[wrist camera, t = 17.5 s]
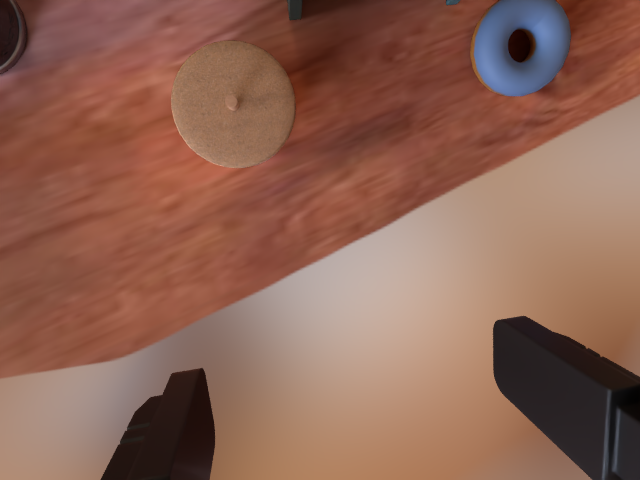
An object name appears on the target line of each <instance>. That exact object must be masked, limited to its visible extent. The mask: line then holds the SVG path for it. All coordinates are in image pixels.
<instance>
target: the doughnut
mask: <svg viewBox="0 0 640 480" xmlns="http://www.w3.org/2000/svg"><path fill="white" fill-rule="evenodd" d="M515 30H522V31H524V32H525V33H526V34H527V36H528V38H529V41H530V52H529V54H528V56H527V58H526V59H525V60H524V61H523V62H520V63H519V62H516V61H514V60H513V59H512V58H511V56H510V54H509V51H508V40H509V38H510V35H511V34H512V33H513V32H514V31H515ZM570 40H571V32H570V25H569V20H568V18H567V16H566V14H565V12H564V10H563V8H562V7H561V6H560V5H559V4H558V3H557V2H556V1H555V0H499V1H497V2H496V3H495V4H494V5H492V6H491V7H490V8H488V10H487V11H486V12H485V14H484V15H483V16H482V18H481V19H480V20H479V22H478V23H477V25H476V28H475V31H474V33H473V36H472V39H471V51H470V56H471V61H472V66H473V70H474V72H475V74H476V76H477V77H478V79H479V81H480V82H481V83H482V84H483V85H484V86H485V87H486V88H488V89H489V90H490V91H492V92H494V93H497V94H500V95H502V96H524V95H527V94H530V93H533V92H536V91H538V90H540V89H541V88H542V87H544V86H545V85H547V84H548V83H549V82H551V81H552V80H553V78H554V77H555V76H556V74H557V73H558V72H559V71H560V69H561V68H562V66H563V64H564V62H565V59H566V57H567V55H568V52H569V47H570Z"/></svg>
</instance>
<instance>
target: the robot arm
mask: <svg viewBox="0 0 640 480" xmlns="http://www.w3.org/2000/svg"><path fill="white" fill-rule="evenodd" d="M26 35H27V34H26V24H25V20H24V16H23V14H22V11H21V9H20V7H19V6H18V4H17V2H16V1H15V0H0V74H2V73H4V72H6V71H8V70H9V69H10V68H12V67H13V66H14V65H15V64H16V62H17V61H18V60H19V58H20V57H21V55H22V53H23V50H24V48H25V44H26ZM493 367H494V369H493V370H494V377H495V381H496V383H497V386H498V388H499V389H500V391H501V392H502V394H503V395H504V396H505V397H506V398H507V399H508V400H510V402H511V403H513V404H514V405H515V406H516V407H517V408H518V409H519V410H520V411H521V412H522V413H523V414H524V415H525V416H526V417H527V418H528V419H529V420H530V421H531V422H533V423H534V424H535V425H536V426H537V427H538V428H539V429H540V430H541V431H542V432H543V433H544V434H545V435H546V436H547V437H548V438H549V439H550V440H552V442H553V443H554V444H556V445H557V446H558V447H559V448H560V449H561V450H562V451H563V452H564V453H565V454H566V455H567V456H568V457H569V458H570V459H571V460H572V461H573V462H574V463H575V464H577V465H578V466H579V467H580V468H581V469H582V470H583V471H584V472H585V473H586V474H587V475H588V476H589V477H590V478H591V479H592V480H640V377H639V376H637V375H635V374H633V373H632V372H630V371H628V370H626V369H625V368H623V367H621V366H619V365H617V364H616V363H614V362H612V361H610V360H609V359H607V358H605V357H600V355H599V354H598V353H596V352H594V351H593V350H591V349H589V348H588V349H586V347H585V346H584V345H582V344H580V343H578V342H577V341H575V340H573V339H571V338H570V337H567V336H564V335H561V334H558V333H555V332H552V331H551V330H549V329H547V328H545V327H544V326H542V325H540V324H538V323H537V322H535V321H533V320H531V319H530V318H528V317H526V316H520V317H514V318H507V319H501V320H497V321H496V322H495V324H494V328H493ZM214 448H215V429H214V420H213V414H212V409H211V403H210V398H209V392H208V386H207V382H206V375H205V372H204V370H203V368H200V369H194V370H189V371H182V372H176V373H172V374H171V376H170V378H169V381H168V383H167V385H166V388H165V390H164V392H163V395H160V396H154V397H151V398H149V399H148V400H147V401H146V402H145V403H144V404H143V405H142V406H141V407H140V408H139V409H138V410H137V411H136V412H135V413H134V415H133V417H132V419H131V421H130V423H129V425H128V427H127V431H125V433H124V435H123V437H122V439H121V441H120V445H118V447H117V449H116V451H115V453H114V455H113V457H112V459H111V460H110V462H109V464H108V466H107V468H106V470H105V472H104V474H103V476H102V478H101V480H209V479H210V473H211V467H212V461H213V455H214Z"/></svg>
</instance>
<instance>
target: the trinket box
mask: <svg viewBox="0 0 640 480" xmlns="http://www.w3.org/2000/svg"><path fill="white" fill-rule="evenodd" d="M171 106H172V114H173V118H174V121H175V124H176V127H177V129H178V131H179V133H180V135H181V136H182V138H183V140H184V141H185V142H186V143H187V145H188V146H189V147H190V148H191V149H192V150H193V151H194V152H196V153H197V154H198V155H199V156H201V157H202V158H204V159H205V160H207V161H209V162H212V163H214V164H216V165H220V166H224V167H230V168H246V167H250V166H255V165H258V164H260V163H263V162H265V161H266V160H268V159H270V158H271V157H272V156H274V155H275V154H276V153H277V152H278V151H279V150H280V149H281V148H282V146H283V145H284V144H285V142H286V141H287V139H288V137H289V135H290V133H291V131H292V128H293V124H294V120H295V112H296V103H295V95H294V90H293V87H292V84H291V81H290V79H289V77H288V75H287V73H286V72H285V70H284V69H283V67H282V66H281V65H280V63H279V62H278V61H277V60H276V59H275V58H274V57H273V56H272V55H270V54H269V53H267V52H266V51H265V50H263V49H261V48H259V47H257V46H255V45H253V44H250V43H246V42H242V41H235V40H229V41H220V42H214V43H212V44H209V45H206V46H204V47H203V48H201V49H199V50H197V51H196V52H195V53H194V54H192V55H191V56H190V57H189V58H188V59H187V60H186V61H185V63H184V64H183V65H182V67H181V68H180V70H179V72H178V73H177V76H176V79H175V81H174V84H173V89H172V97H171Z"/></svg>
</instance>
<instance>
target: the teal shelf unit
mask: <svg viewBox="0 0 640 480" xmlns="http://www.w3.org/2000/svg"><path fill="white" fill-rule="evenodd" d="M459 1H460V0H446V5H453V4H458V2H459ZM287 3H288V11H289V19H290V20H297V19H301V13H302V0H287Z"/></svg>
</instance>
